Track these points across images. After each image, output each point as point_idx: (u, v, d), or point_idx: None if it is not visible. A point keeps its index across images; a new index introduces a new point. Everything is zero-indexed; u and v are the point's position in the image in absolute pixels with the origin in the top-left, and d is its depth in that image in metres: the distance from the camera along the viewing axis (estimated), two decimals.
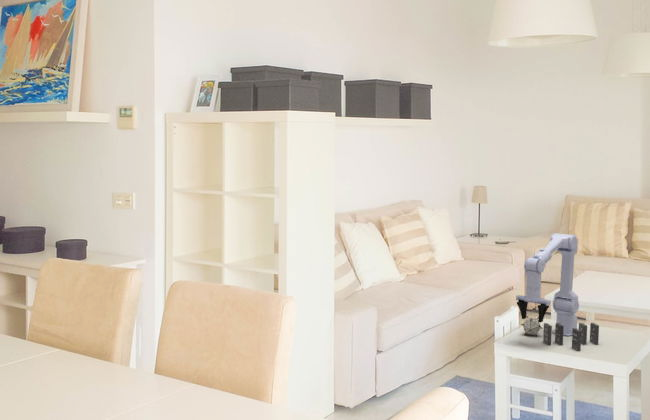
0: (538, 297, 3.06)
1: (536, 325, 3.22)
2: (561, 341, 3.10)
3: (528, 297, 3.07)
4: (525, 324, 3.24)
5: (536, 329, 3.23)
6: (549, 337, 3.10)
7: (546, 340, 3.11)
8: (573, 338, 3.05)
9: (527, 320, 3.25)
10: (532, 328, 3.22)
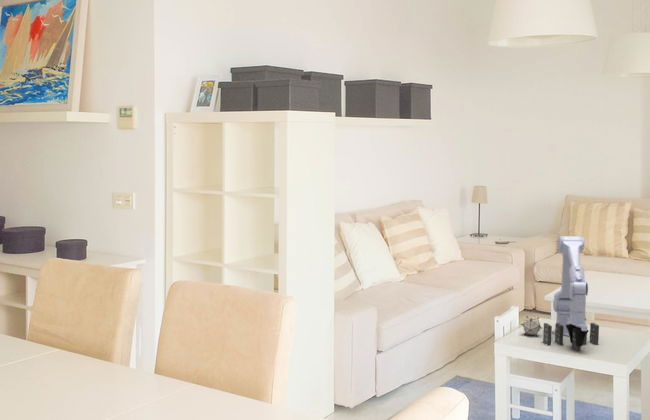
0: (578, 321, 3.00)
1: (536, 325, 3.22)
2: (561, 341, 3.10)
3: (570, 320, 3.04)
4: (525, 324, 3.24)
5: (536, 329, 3.23)
6: (549, 337, 3.10)
7: (546, 340, 3.11)
8: (573, 338, 3.05)
9: (527, 320, 3.25)
10: (532, 328, 3.22)
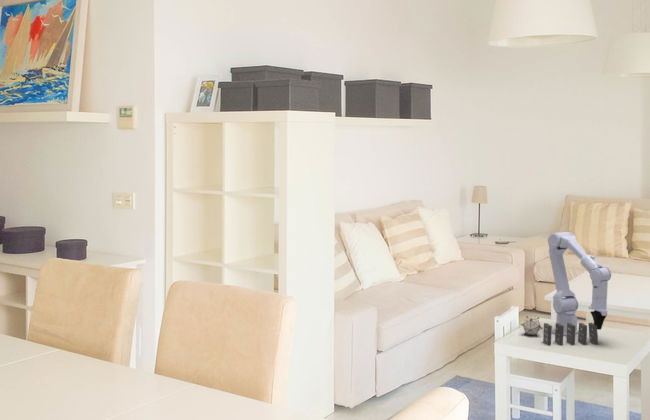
0: (599, 306, 3.10)
1: (536, 325, 3.22)
2: (561, 341, 3.10)
3: (591, 305, 3.14)
4: (525, 324, 3.24)
5: (536, 329, 3.23)
6: (549, 337, 3.10)
7: (546, 340, 3.11)
8: (568, 332, 3.14)
9: (527, 320, 3.25)
10: (532, 328, 3.22)
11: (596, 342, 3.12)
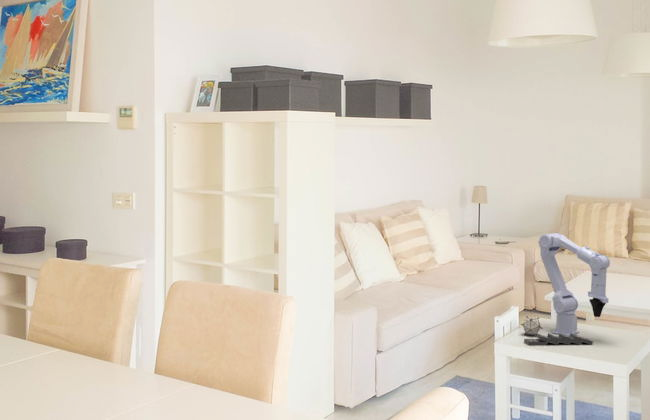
0: (599, 294, 3.13)
1: (536, 325, 3.22)
2: (555, 342, 3.10)
3: (591, 293, 3.16)
4: (525, 324, 3.24)
5: (536, 329, 3.23)
6: (539, 343, 3.09)
7: None
8: None
9: (527, 320, 3.25)
10: (532, 328, 3.22)
11: (590, 342, 3.11)
